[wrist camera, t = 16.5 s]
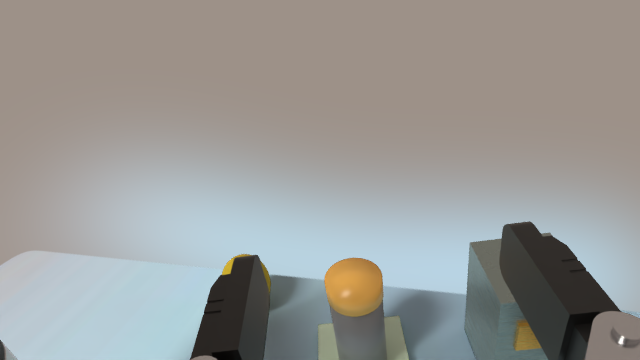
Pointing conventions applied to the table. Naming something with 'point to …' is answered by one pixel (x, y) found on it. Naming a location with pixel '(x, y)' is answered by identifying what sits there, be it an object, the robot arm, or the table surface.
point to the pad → (393, 334)
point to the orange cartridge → (357, 309)
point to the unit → (495, 310)
